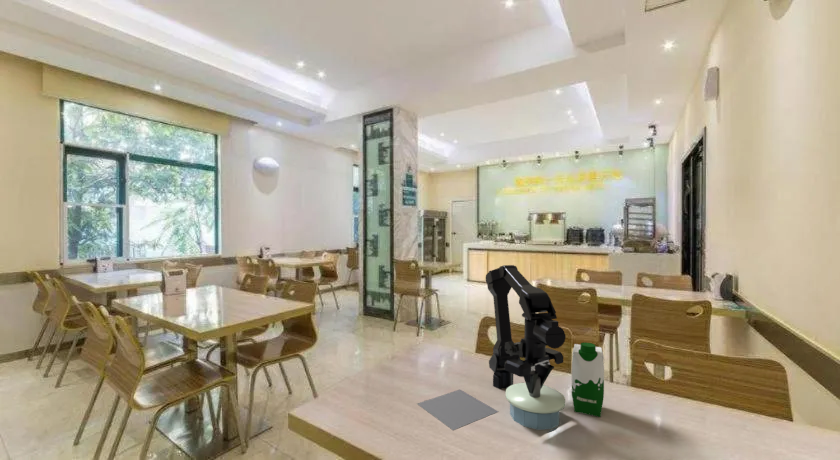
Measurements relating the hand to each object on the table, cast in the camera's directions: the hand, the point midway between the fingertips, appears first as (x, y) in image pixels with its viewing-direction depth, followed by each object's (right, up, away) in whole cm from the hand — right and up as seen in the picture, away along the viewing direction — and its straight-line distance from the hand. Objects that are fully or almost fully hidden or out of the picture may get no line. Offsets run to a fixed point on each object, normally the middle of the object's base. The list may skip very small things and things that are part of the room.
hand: (534, 391), depth 103 cm
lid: (0, -2, 0) cm, 2 cm away
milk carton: (+18, -8, +6) cm, 20 cm away
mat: (-21, -8, +5) cm, 23 cm away
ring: (0, -8, 0) cm, 8 cm away
